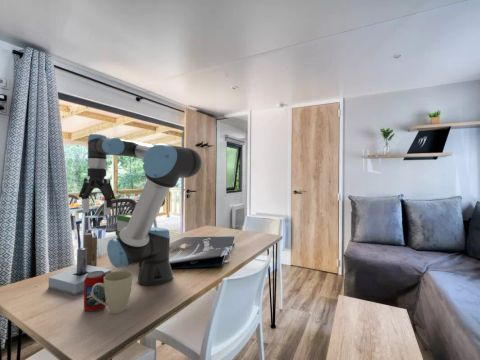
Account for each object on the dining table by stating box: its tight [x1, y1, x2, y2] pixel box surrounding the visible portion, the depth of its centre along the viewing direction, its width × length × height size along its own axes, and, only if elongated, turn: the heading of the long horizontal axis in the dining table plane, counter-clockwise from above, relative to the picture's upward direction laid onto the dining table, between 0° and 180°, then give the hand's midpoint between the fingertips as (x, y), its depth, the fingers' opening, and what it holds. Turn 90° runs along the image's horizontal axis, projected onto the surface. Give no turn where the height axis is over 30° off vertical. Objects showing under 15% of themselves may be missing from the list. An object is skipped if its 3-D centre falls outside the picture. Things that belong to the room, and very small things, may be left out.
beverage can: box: [83, 271, 106, 312], centre depth 86 cm, size 7×7×12 cm
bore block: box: [48, 265, 112, 297], centre depth 104 cm, size 16×16×4 cm
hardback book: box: [116, 213, 132, 238], centre depth 137 cm, size 18×7×24 cm, turn 55°
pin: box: [76, 247, 87, 276], centre depth 104 cm, size 4×4×14 cm
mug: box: [92, 270, 133, 314], centre depth 84 cm, size 11×10×12 cm
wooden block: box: [83, 232, 98, 267], centre depth 121 cm, size 4×11×18 cm, turn 17°
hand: (96, 213), depth 113 cm, fingers open, 13 cm apart
